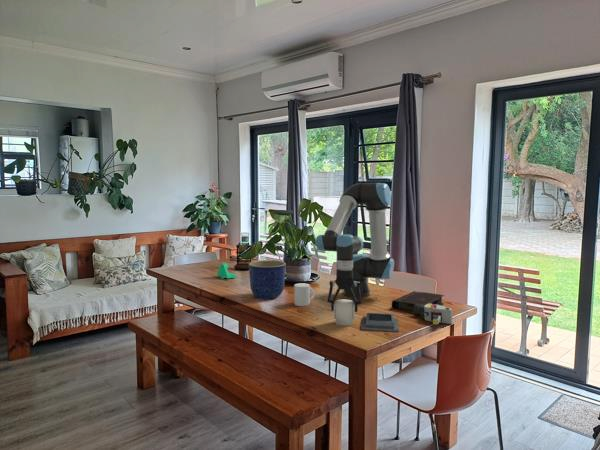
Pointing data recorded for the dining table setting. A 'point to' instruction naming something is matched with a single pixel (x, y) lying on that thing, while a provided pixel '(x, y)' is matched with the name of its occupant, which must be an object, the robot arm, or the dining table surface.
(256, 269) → the planter
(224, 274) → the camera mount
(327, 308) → the dining table surface
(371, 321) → the grey square tray
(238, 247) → the dark piece
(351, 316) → the plug
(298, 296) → the mug
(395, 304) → the diary
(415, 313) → the film camera
